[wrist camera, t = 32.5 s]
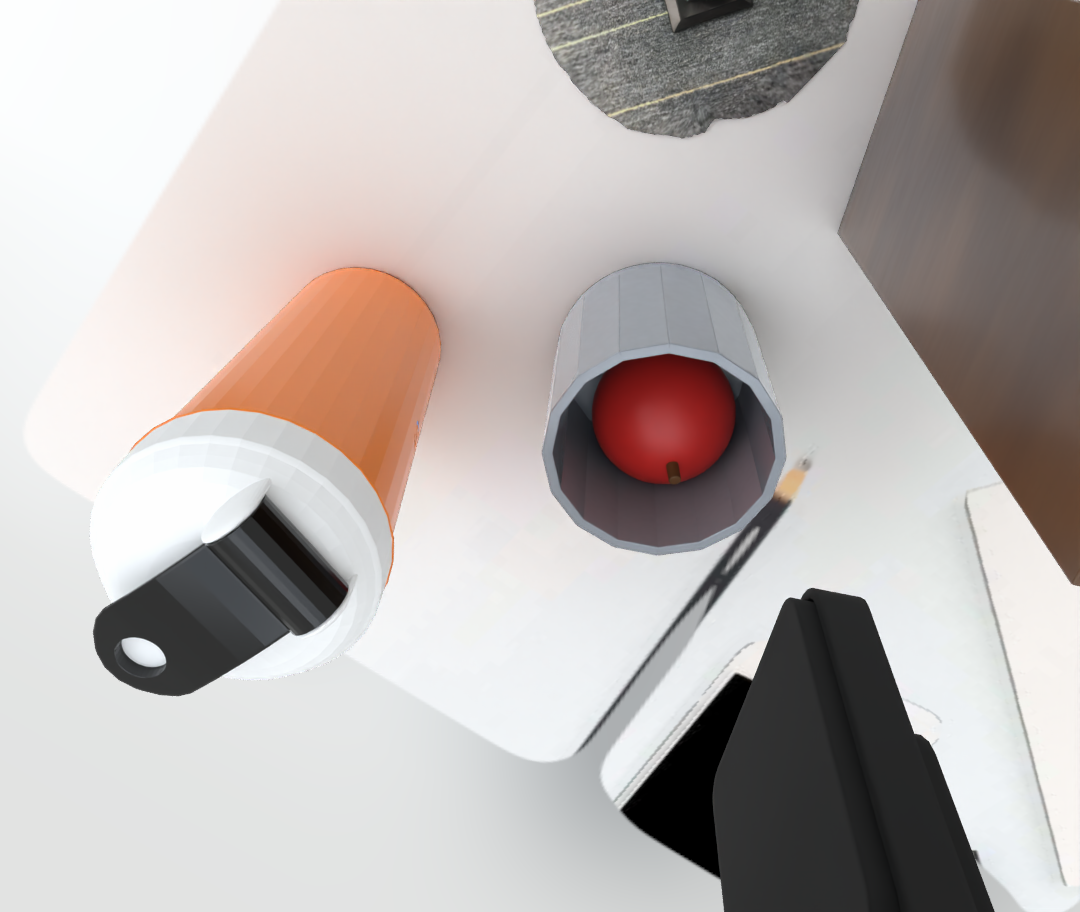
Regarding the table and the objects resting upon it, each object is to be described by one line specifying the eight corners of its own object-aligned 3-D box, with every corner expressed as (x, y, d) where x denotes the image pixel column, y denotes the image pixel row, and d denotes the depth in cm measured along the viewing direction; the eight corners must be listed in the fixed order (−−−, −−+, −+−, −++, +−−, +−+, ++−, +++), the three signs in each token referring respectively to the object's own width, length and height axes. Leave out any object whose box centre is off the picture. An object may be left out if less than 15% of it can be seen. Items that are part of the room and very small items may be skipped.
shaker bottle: (227, 332, 44) (-21, 607, 27) (357, 202, 41) (168, 421, 24) (371, 461, 47) (229, 783, 30) (502, 349, 44) (429, 640, 27)
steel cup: (578, 243, 41) (569, 322, 34) (780, 284, 42) (817, 372, 34) (540, 423, 46) (524, 530, 38) (723, 459, 46) (745, 573, 38)
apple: (603, 303, 40) (619, 420, 36) (741, 320, 41) (773, 436, 37) (574, 406, 45) (584, 522, 40) (699, 419, 46) (723, 533, 41)
